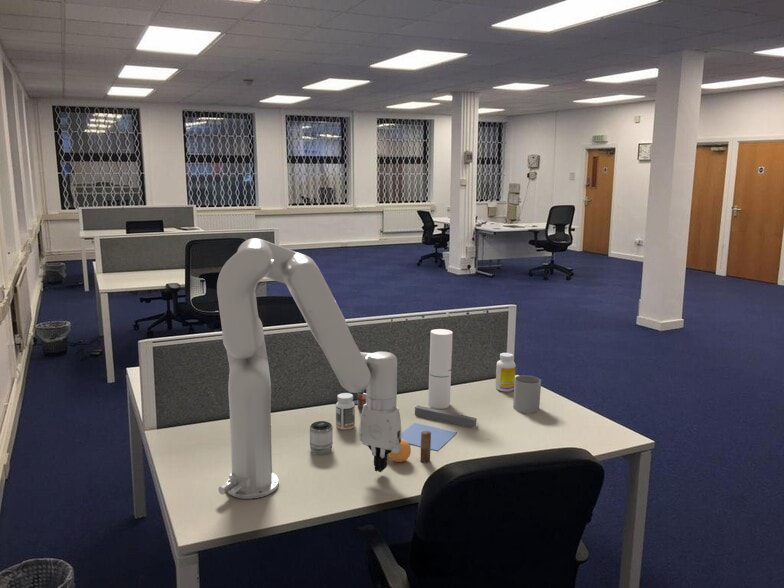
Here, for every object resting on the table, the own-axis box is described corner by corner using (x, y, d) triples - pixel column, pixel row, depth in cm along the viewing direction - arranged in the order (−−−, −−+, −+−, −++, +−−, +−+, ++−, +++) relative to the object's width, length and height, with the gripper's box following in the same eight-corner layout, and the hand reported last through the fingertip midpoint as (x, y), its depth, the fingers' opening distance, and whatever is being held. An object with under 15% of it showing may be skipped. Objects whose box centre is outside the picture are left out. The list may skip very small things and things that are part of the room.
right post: (427, 463, 168) (428, 435, 166) (418, 461, 169) (419, 433, 167) (431, 459, 170) (432, 432, 168) (422, 457, 171) (423, 430, 170)
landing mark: (437, 451, 175) (437, 450, 175) (393, 440, 182) (393, 439, 182) (457, 433, 187) (457, 432, 187) (414, 423, 194) (414, 422, 194)
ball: (417, 446, 170) (409, 467, 168) (398, 441, 174) (390, 462, 171) (408, 438, 166) (400, 459, 164) (389, 433, 169) (381, 454, 167)
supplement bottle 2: (518, 390, 224) (520, 355, 222) (503, 393, 221) (505, 358, 218) (505, 384, 230) (507, 350, 227) (491, 387, 227) (493, 353, 224)
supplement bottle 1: (354, 410, 204) (354, 376, 201) (361, 403, 209) (361, 371, 207) (372, 412, 202) (372, 379, 199) (378, 406, 207) (378, 373, 205)
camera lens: (305, 449, 175) (305, 422, 173) (324, 443, 179) (324, 417, 177) (318, 457, 170) (317, 430, 169) (337, 451, 174) (337, 424, 173)
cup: (511, 411, 205) (513, 382, 203) (514, 402, 213) (516, 374, 211) (538, 414, 203) (540, 385, 201) (540, 405, 210) (542, 377, 208)
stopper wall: (473, 428, 191) (474, 420, 191) (414, 414, 201) (415, 407, 200) (476, 425, 193) (476, 418, 192) (417, 412, 202) (417, 405, 202)
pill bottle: (356, 423, 193) (356, 392, 191) (353, 431, 188) (353, 399, 186) (337, 422, 194) (337, 391, 192) (334, 429, 188) (334, 398, 186)
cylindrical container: (453, 403, 211) (456, 331, 206) (443, 410, 205) (446, 335, 200) (434, 399, 214) (437, 327, 209) (424, 405, 208) (426, 332, 203)
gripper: (347, 400, 158) (347, 468, 161) (400, 412, 151) (399, 483, 154) (363, 391, 164) (362, 456, 168) (414, 402, 157) (413, 470, 161)
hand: (380, 469), depth 161 cm, fingers closed
